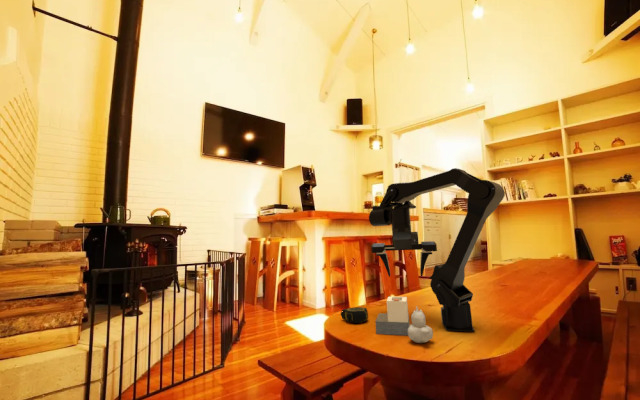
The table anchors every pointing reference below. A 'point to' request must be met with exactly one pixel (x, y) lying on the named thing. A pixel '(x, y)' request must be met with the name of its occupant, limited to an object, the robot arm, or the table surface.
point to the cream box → (397, 309)
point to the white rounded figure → (419, 328)
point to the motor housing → (391, 326)
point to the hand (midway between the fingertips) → (405, 276)
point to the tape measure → (355, 314)
